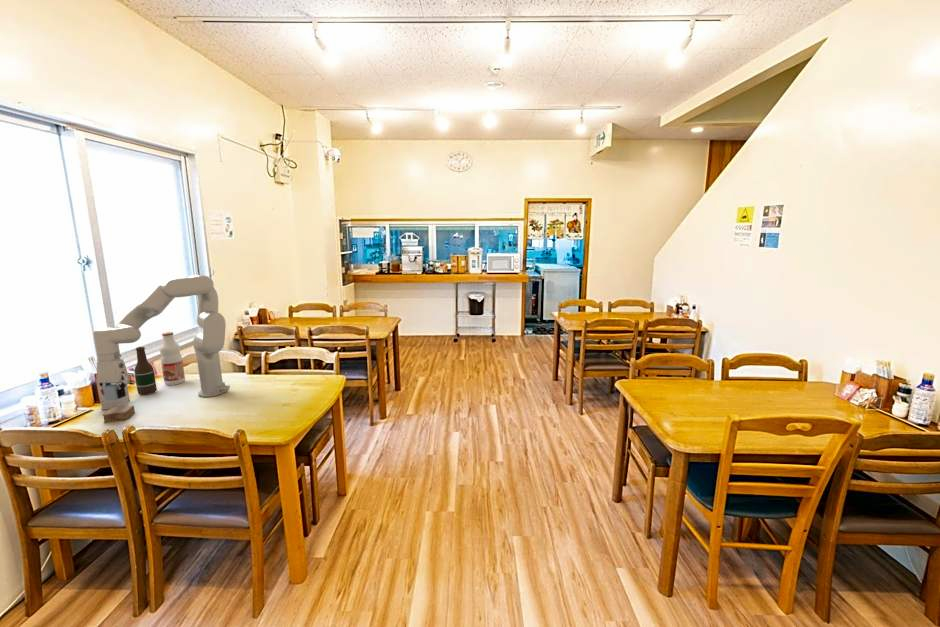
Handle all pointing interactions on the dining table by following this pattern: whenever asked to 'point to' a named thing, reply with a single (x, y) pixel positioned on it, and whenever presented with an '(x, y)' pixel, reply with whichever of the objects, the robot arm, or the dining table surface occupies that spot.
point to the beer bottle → (144, 374)
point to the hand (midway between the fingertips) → (115, 396)
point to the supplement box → (112, 403)
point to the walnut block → (119, 414)
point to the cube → (111, 392)
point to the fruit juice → (171, 360)
